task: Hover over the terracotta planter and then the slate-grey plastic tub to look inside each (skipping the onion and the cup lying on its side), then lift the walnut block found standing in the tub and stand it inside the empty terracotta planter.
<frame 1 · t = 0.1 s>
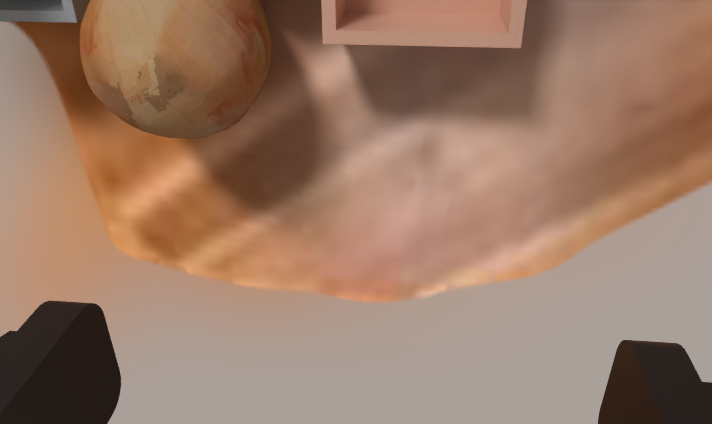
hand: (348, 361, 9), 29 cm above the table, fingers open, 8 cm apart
onion: (209, 25, 36), on the table
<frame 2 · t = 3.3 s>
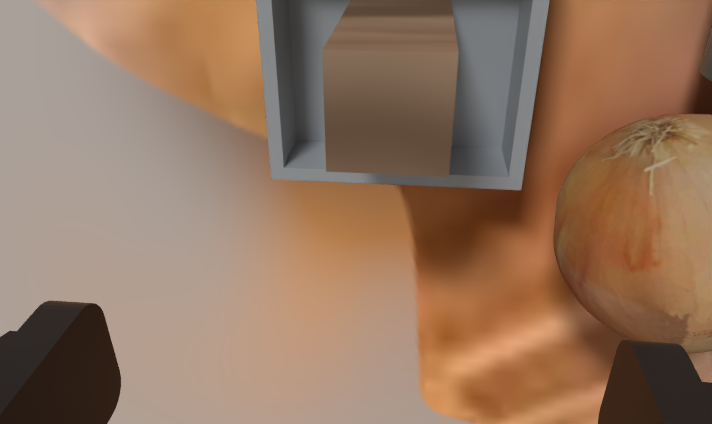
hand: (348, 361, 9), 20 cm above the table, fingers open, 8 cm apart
walnut block: (400, 41, 26), resting on grey tub
onion: (640, 175, 29), on the table
grey tub: (401, 38, 27), on the table
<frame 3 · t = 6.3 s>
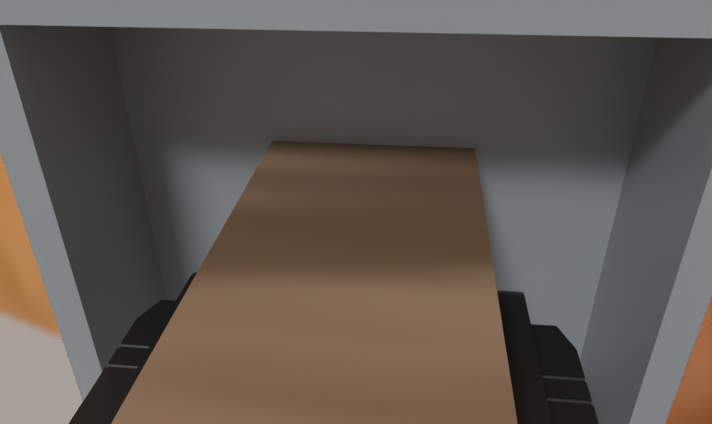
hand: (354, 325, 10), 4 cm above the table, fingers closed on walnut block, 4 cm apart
walnut block: (371, 230, 13), resting on grey tub, touching gripper
grey tub: (372, 218, 13), on the table
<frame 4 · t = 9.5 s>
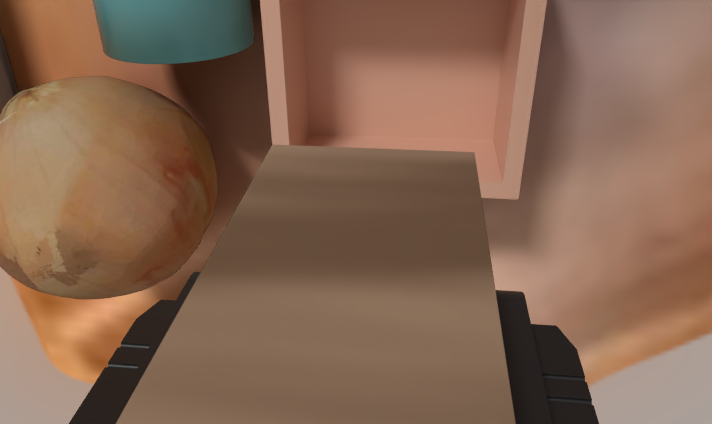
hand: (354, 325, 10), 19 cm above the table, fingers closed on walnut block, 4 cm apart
planter: (403, 41, 27), on the table
walnut block: (371, 234, 13), point 16 cm above the table, touching gripper
onion: (150, 141, 31), on the table
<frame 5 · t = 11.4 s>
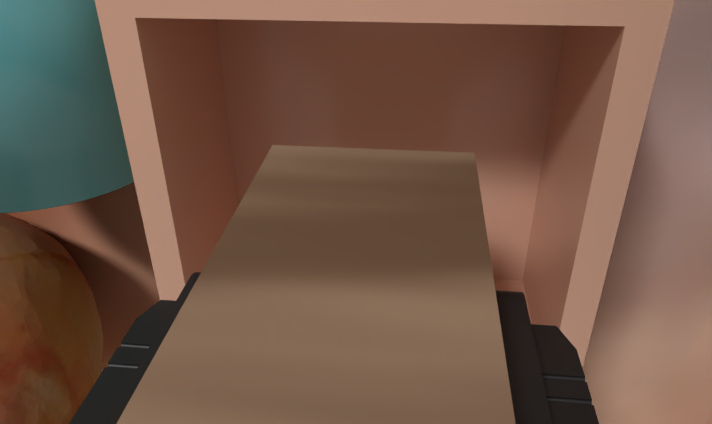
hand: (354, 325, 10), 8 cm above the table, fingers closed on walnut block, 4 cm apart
planter: (384, 136, 17), on the table
walnut block: (371, 234, 13), point 5 cm above the table, touching gripper
onion: (19, 262, 21), on the table
when the fingers open (5 cm above the table, at t = 12.8 s): walnut block drops 2 cm, resting on planter.
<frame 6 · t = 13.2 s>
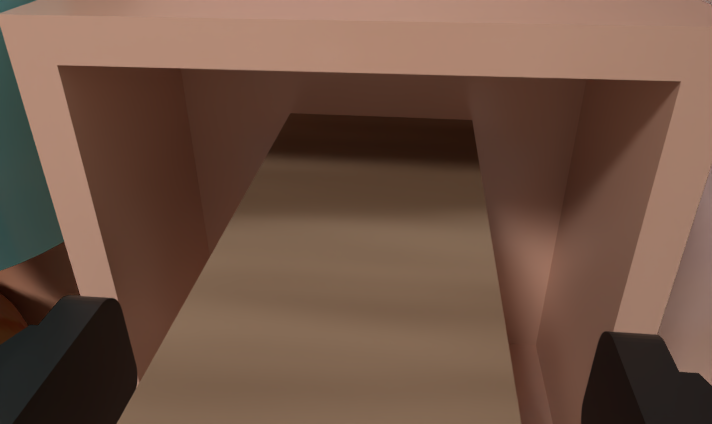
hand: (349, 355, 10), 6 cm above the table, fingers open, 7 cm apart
planter: (377, 183, 15), on the table
walnut block: (378, 196, 14), point 1 cm above the table, touching planter
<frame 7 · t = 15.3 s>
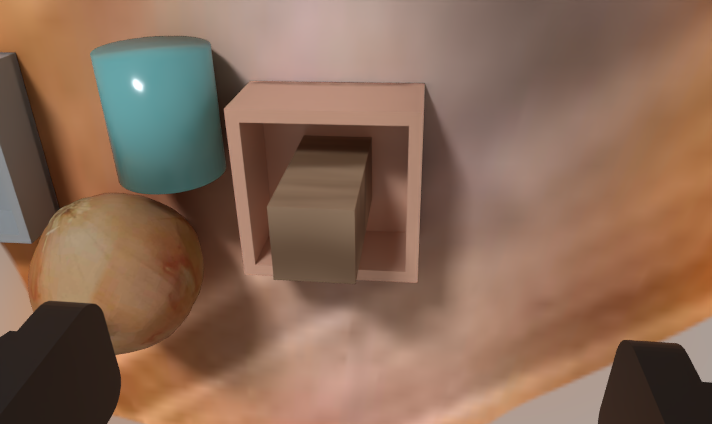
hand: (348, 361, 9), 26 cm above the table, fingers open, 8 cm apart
lying cup: (185, 96, 36), on the table
planter: (338, 163, 36), on the table
walnut block: (338, 167, 36), point 1 cm above the table, touching planter
onion: (154, 230, 41), on the table
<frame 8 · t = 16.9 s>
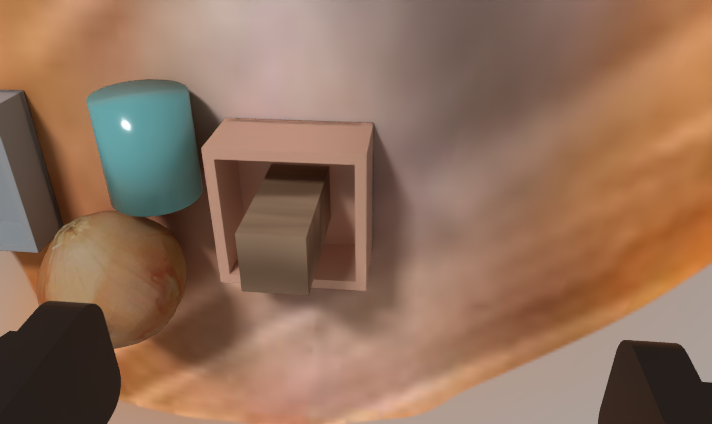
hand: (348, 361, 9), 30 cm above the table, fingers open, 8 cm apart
lying cup: (170, 129, 41), on the table, tilted 6°
planter: (302, 186, 43), on the table
walnut block: (301, 191, 42), point 1 cm above the table, touching planter
onion: (144, 239, 47), on the table
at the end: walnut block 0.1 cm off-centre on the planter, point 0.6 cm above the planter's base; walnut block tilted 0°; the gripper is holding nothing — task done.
